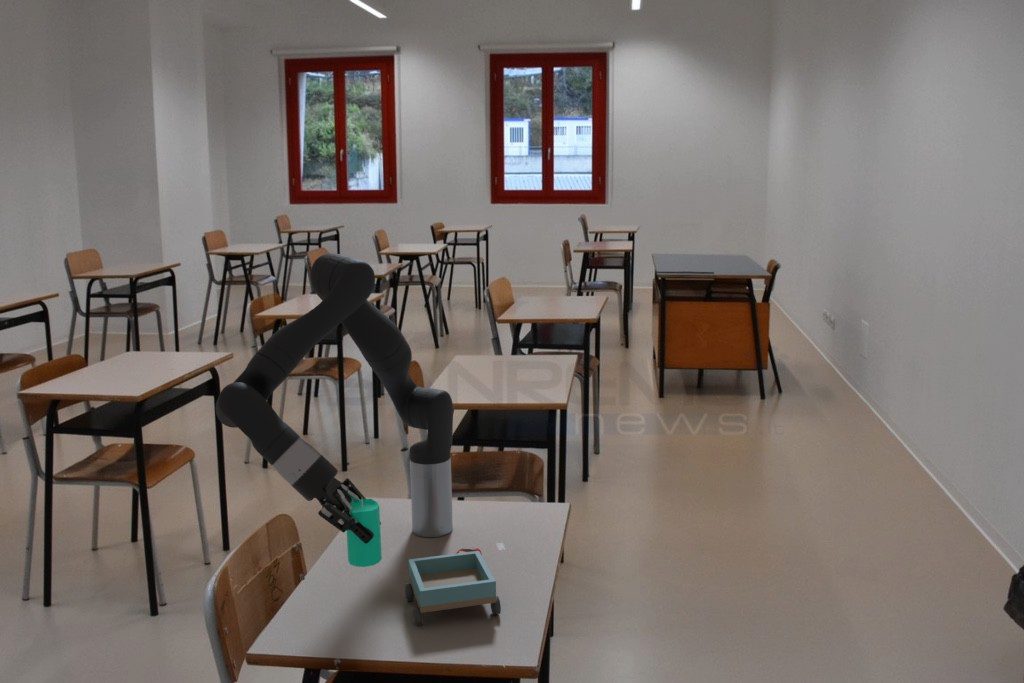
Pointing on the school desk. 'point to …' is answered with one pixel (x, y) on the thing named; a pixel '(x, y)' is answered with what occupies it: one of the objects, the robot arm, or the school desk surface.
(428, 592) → the cart
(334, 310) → the robot arm
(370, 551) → the candle
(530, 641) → the school desk surface
